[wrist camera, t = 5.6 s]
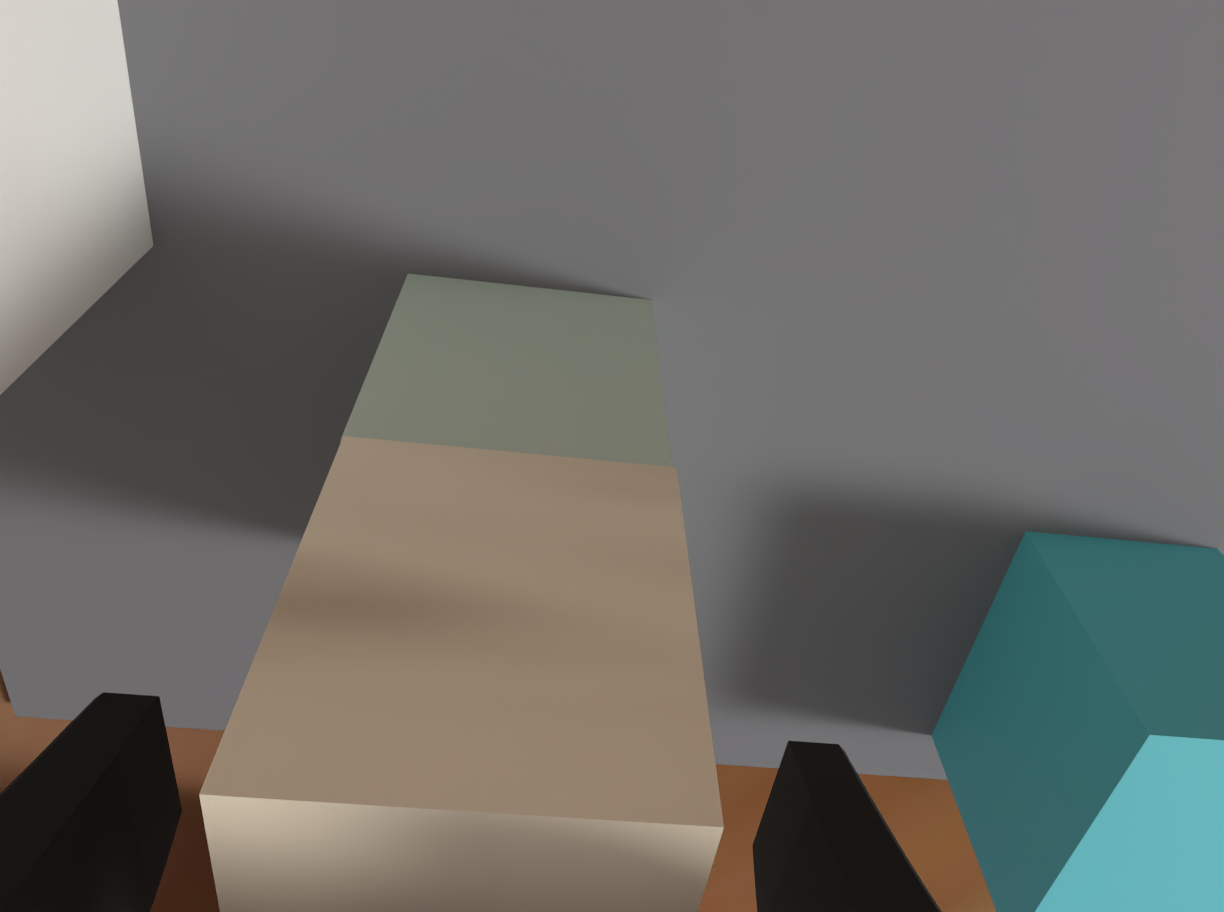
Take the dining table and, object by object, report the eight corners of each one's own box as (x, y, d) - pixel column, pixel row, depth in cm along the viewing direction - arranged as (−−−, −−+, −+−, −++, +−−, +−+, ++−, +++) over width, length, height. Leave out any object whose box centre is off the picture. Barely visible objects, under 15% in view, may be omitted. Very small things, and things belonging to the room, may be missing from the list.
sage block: (607, 574, 19) (612, 784, 15) (405, 557, 19) (352, 767, 15) (651, 299, 16) (672, 470, 12) (408, 273, 16) (340, 440, 11)
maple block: (614, 782, 15) (622, 1153, 11) (354, 764, 15) (260, 1140, 10) (675, 467, 12) (724, 828, 7) (343, 435, 11) (199, 795, 7)
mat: (1163, 784, 24) (1168, 794, 23) (22, 705, 21) (15, 716, 21) (1894, -276, 12) (1921, -278, 12) (-416, -690, 10) (-441, -702, 10)
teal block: (1096, 747, 22) (1211, 959, 18) (931, 735, 22) (1010, 948, 18) (1217, 548, 19) (1392, 752, 15) (1025, 531, 19) (1149, 734, 15)
